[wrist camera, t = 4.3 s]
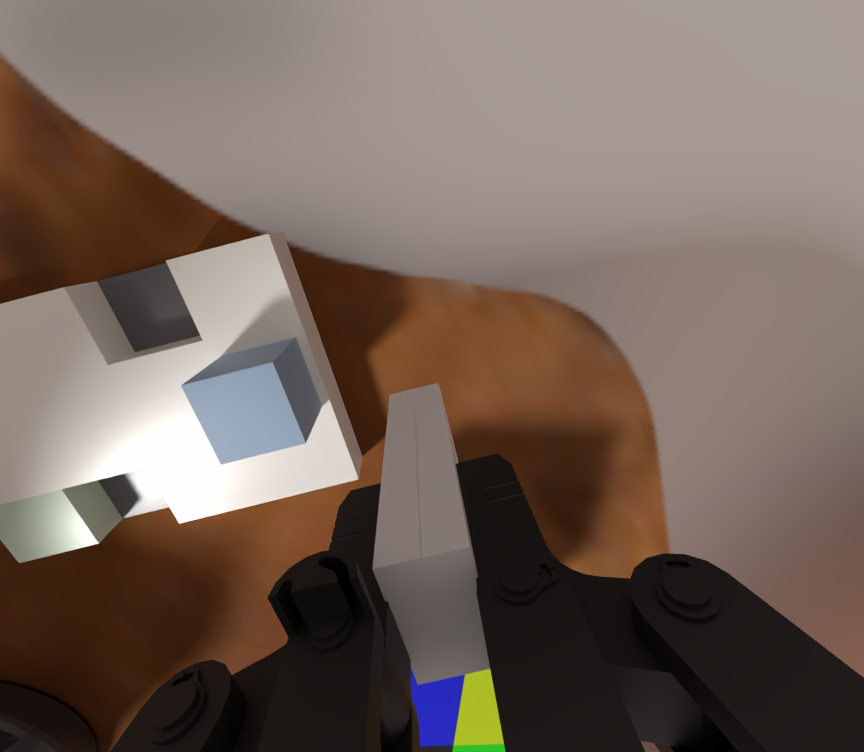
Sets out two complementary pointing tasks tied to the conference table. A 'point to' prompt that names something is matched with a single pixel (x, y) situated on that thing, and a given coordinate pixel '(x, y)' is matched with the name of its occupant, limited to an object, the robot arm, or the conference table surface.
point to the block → (255, 401)
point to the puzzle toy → (458, 714)
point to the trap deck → (150, 397)
